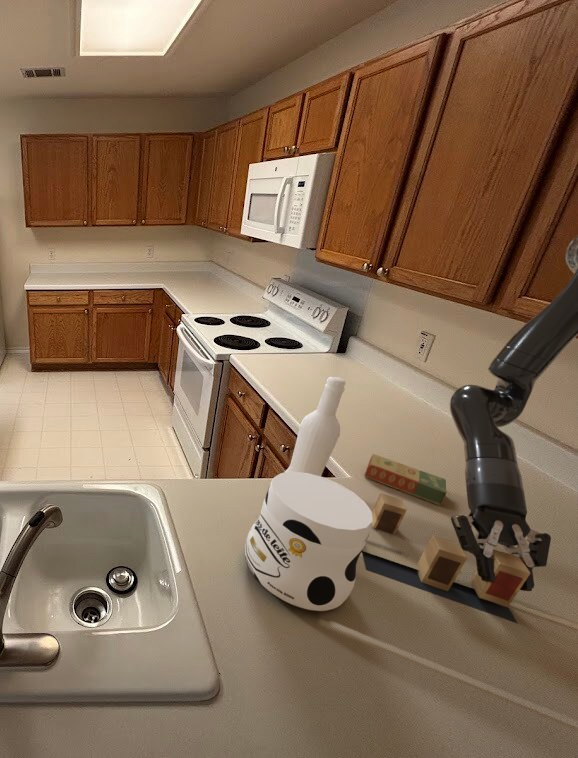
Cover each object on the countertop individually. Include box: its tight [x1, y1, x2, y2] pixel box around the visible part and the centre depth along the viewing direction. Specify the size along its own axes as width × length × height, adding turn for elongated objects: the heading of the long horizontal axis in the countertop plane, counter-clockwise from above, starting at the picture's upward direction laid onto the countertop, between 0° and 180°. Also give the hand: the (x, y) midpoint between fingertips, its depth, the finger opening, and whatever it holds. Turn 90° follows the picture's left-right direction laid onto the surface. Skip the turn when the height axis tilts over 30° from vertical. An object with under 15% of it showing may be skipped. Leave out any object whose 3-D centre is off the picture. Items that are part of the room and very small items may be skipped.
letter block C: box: [470, 548, 530, 607], centre depth 72 cm, size 4×4×8 cm
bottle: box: [283, 376, 346, 477], centre depth 95 cm, size 8×8×30 cm
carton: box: [364, 453, 448, 507], centre depth 106 cm, size 8×16×4 cm, turn 50°
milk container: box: [244, 471, 373, 612], centre depth 72 cm, size 17×17×18 cm
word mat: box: [361, 550, 519, 625], centre depth 77 cm, size 22×8×1 cm, turn 64°
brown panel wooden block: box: [415, 534, 468, 591], centre depth 75 cm, size 4×4×8 cm
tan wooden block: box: [371, 492, 408, 535], centre depth 88 cm, size 4×4×8 cm
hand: (506, 585), depth 70 cm, fingers closed on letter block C, 4 cm apart
